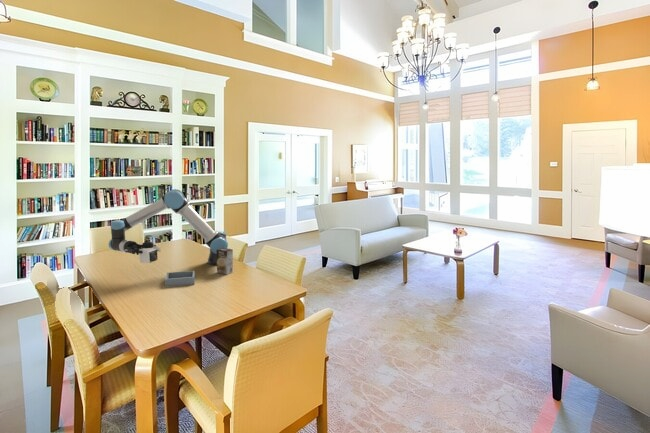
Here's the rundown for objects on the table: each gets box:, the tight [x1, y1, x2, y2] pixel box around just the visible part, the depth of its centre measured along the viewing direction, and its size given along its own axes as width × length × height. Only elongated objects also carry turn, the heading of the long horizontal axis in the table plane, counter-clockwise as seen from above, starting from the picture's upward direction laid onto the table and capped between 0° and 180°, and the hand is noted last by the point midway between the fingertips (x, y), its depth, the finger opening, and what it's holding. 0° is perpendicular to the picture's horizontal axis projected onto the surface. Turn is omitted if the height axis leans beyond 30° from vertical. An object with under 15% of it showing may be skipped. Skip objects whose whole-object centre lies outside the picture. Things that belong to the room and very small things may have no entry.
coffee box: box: [216, 248, 234, 275], centre depth 240 cm, size 9×6×16 cm
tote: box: [164, 270, 196, 288], centre depth 220 cm, size 16×14×4 cm
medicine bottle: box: [139, 241, 158, 264], centre depth 218 cm, size 7×7×12 cm
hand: (153, 250), depth 216 cm, fingers closed on medicine bottle, 8 cm apart
